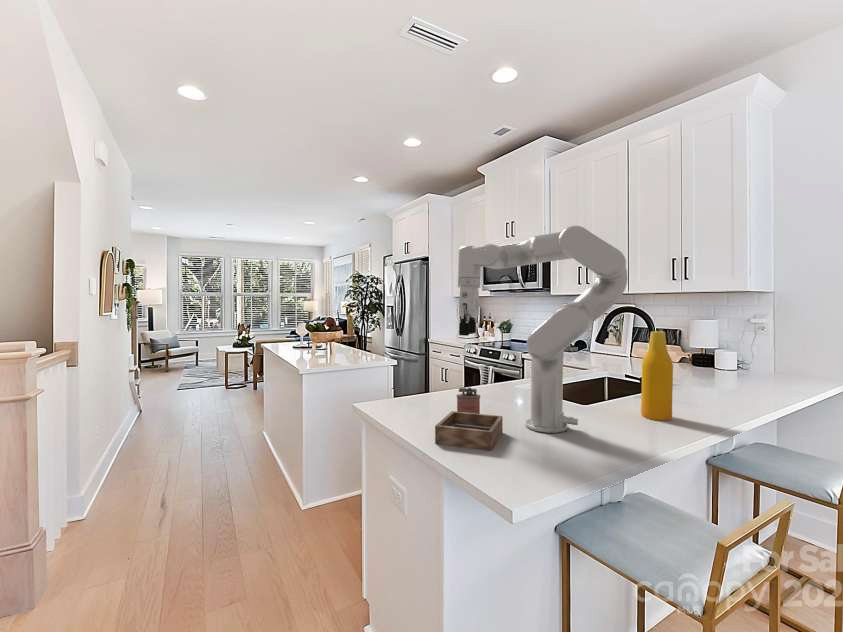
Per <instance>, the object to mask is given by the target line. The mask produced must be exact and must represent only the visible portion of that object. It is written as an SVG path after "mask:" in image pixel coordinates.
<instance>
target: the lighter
mask: <svg viewBox="0 0 843 632" xmlns="http://www.w3.org/2000/svg"><path fill="white" fill-rule="evenodd" d="M458 392H460V393H457V394H456V406H457V407H456V409H457V410H456V412H465V413H475V414H481V413H480V412H481V407H480V406H481V394H478V391H477V388H472V387H467V388H466V387H459V388H458Z"/></svg>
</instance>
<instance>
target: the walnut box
mask: <svg viewBox="0 0 843 632" xmlns="http://www.w3.org/2000/svg"><path fill="white" fill-rule="evenodd" d="M503 424H504V423H503V415H496V414H495V415H493V414H485V413H483V414H482V413H480V414H475V413H465V412H457V411H453V410H452V411H450V412H449V413H448V414H447V415H445V416H444V417H443V418H442V419H441V420H440V421H439V422H438V423H436V424H435V426H434V433H435V435H434V437H435V438H434V440H435V441H434V444H435V445H436V444H437V445H445V446H451V447H452V446H454V447H460V448H461V447H462V448H466V449H467V448H468V449H476V450H484V451H491V452H492V451H493V449H494V448H495V445H497V443H498V441H499V439H500V437H501V436H502V434H503V431H504V430H503V429H504V428H503Z"/></svg>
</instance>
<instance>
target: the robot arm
mask: <svg viewBox="0 0 843 632" xmlns="http://www.w3.org/2000/svg"><path fill="white" fill-rule="evenodd" d="M569 259H570V260H571V259H574V260H575V261H576V262H577V263H579V264H580V265H582V266H583V267H585V268H586V269H588V270H589V271H591V272H592V273H594V274H595V275H596V279H595V281H594V282H593V283H592V284H591V285H590V286H589V287H587V289H585V291H583V292H582V293H581V294H579V296H578V297H576V298H575V299H574V300H573V301H571V302H570V303H568V304H565V305H563V306H562V307H560V308H558V309H557V310H556V311H555V312H554V313H553V314H552V315H550V316H549V317H548V318H547V319H546V320H545V321H543V322H542V323H541V324H540V325H539V326H538V327H537V328H536V329H534V330H533V331H532V332H531V333H530V334H529V335H528V337H527V339H526V350H527V353H528V354H529V355H530V357H531V363H530V364H531V365H530V366H531V367H530V369H531V370H530V418H528V419H527V420H525V426H526V427H527V428H528V429H530V430H532V431H535V432H539V433H546V434H547V433H548V434H549V433H550V434H551V433H552V434H557V433H563V432H565V431H567V430H568V428H569V427H568V426H569V425H572V426H579V425H578V421H579V419H578V418H575V417H573V416H566V415H565V413H564V412H565V411H563V401H564V400H563V395H564V394H563V393H564V392H563V390H564V389H563V388H564V387H563V385H564V380H563V379H564V357H565V355H564V353H565V349H566V348H568V347H569V346H570V345H571V344H572V343H574V342H575V341H577V340H578V339H579V338H580V337H582V335H584V333H586V332H587V331H588V329H590V326H592V324H593V323H595V321H597V320H598V319H599V318H601V316H602V315H604V314H605V313H606V312H607V311H608V310H609V309H611V308H612V307H613V306H614V305H615V304H616V303H617V302H618V301H619V300H620V298H621V297H622V296H623V294H624V293H625V290H626V287H627V285H628V270H627V259H626V257H625V255H624V253H623V252H622V251H620V250H619V249H618V248H616V247H615V246H613V245H612V244H610V243H608V242H607V241H605V240H604V239H602V238H600V236H599V237H598V236H597V235H595V234H594V233H592V232H591V231H590V230H588V229H587V228H585V227H583V226H581V225H571V226H568V227H567V228H565V229H563V230H562V231H559V232H551V233H547V234H546V233H545V234H540V235H534V236H532V237H530V238H528V239H527V240H525V241H524V242H521V243H517V244H516V243H515V244H511V245H506V246H499V245H496V244H493V243H488V244H481V245H463V246H460V248H459V249H458V270H457V271H458V272H457V274H458V275H457V288H459V300H458V315H459V321H458V323H459V327H458V335H459V336H463V337H464V336H467V337H468V336H470V334H475V333H477V317H479V315H480V294H479V293H480V291H479V289H480V288H481V282H482V281H481V275H482V268H488V269H493V270H503V269H510V268H511V269H512V268H516V267H524V266H529V265H536V264H541V263H549V262H555V261H563V260H569Z"/></svg>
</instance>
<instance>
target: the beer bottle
mask: <svg viewBox="0 0 843 632" xmlns="http://www.w3.org/2000/svg"><path fill="white" fill-rule="evenodd" d="M666 337H667V336H666V332H665V331H650V336H649V343H648V348H647V352H646V353H645V354H644V356H643V358H642V359H643V360H642V362H641V363H642V364H641V398H640V399H641V404H640V405H641V406H640V414H641V416H642V418H645V419H648V420H651V421H658V422H659V421H661V422H663V421H664V422H665V421H667V422H668V421H670V420H672V417H673V387H674V386H673V385H674V384H673V383H674V380H673V379H674V377H673V375H674V364H673V360H672V357H671V355H670V354H669V351H668V346H667V340H666V339H667V338H666Z"/></svg>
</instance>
